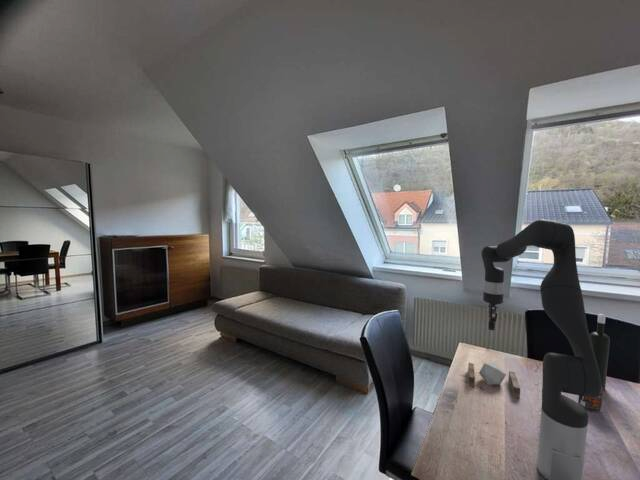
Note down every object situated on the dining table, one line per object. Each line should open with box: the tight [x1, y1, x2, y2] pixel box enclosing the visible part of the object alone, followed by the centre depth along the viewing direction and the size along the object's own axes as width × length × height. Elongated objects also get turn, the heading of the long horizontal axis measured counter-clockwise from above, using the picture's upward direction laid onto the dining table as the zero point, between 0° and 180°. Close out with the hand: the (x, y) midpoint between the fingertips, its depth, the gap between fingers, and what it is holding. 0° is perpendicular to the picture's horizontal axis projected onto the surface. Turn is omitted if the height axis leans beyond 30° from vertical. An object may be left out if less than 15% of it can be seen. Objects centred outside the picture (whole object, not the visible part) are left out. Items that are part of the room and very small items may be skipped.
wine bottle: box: [589, 313, 611, 391], centre depth 113 cm, size 6×6×30 cm
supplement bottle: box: [577, 387, 604, 413], centre depth 101 cm, size 6×6×11 cm
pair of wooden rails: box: [467, 362, 521, 399], centre depth 116 cm, size 12×17×4 cm
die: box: [478, 362, 507, 386], centre depth 117 cm, size 8×9×10 cm
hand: (491, 329), depth 126 cm, fingers closed
